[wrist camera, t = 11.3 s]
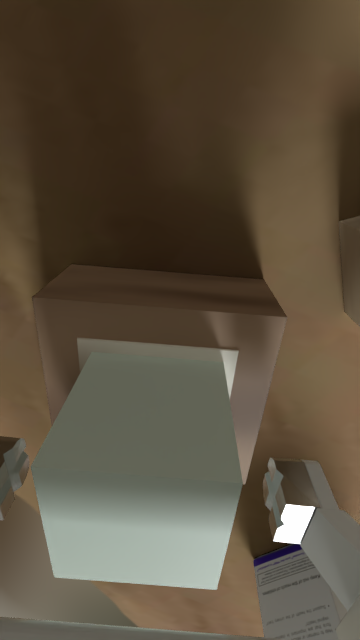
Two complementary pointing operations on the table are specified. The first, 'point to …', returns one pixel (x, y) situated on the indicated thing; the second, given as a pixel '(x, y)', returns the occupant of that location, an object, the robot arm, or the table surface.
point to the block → (351, 266)
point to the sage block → (141, 473)
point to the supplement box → (295, 597)
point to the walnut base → (163, 331)
